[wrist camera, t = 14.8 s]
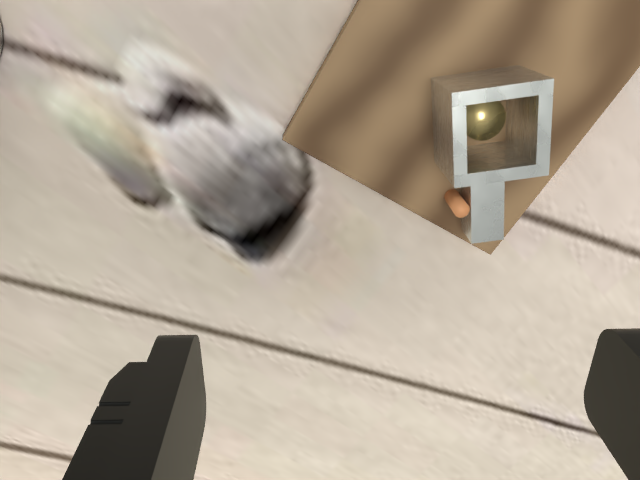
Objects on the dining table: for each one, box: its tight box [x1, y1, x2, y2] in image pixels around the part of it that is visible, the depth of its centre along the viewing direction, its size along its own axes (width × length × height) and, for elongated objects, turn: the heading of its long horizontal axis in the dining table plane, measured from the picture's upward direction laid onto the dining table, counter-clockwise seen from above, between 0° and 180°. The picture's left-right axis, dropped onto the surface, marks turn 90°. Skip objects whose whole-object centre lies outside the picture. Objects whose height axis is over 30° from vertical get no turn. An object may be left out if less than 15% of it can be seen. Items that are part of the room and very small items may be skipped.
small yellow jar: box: [466, 101, 506, 141], centre depth 39 cm, size 3×3×4 cm
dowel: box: [444, 189, 470, 218], centre depth 42 cm, size 1×1×3 cm
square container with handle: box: [431, 65, 554, 244], centre depth 39 cm, size 12×6×6 cm, turn 8°
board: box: [282, 0, 640, 255], centre depth 40 cm, size 20×22×2 cm
